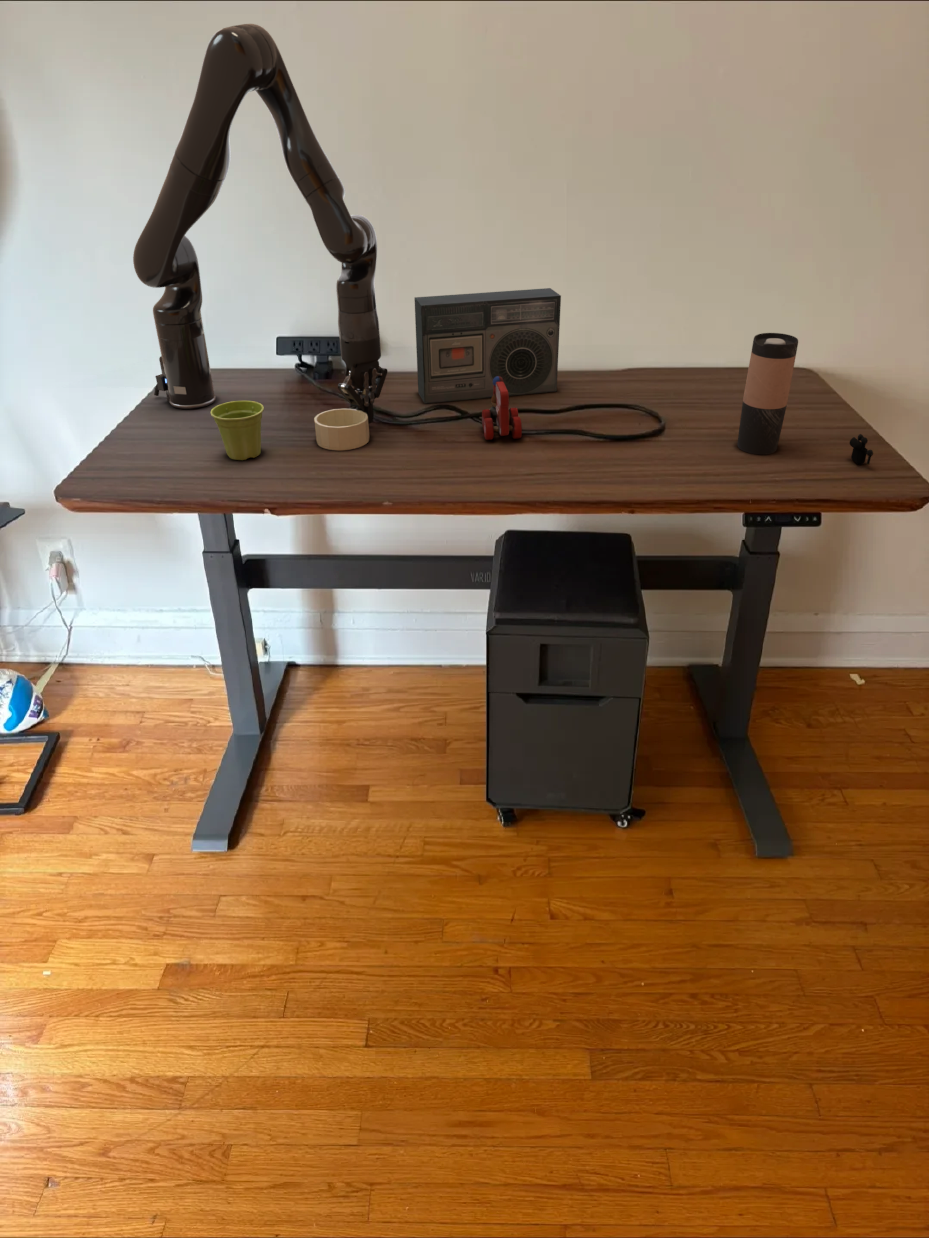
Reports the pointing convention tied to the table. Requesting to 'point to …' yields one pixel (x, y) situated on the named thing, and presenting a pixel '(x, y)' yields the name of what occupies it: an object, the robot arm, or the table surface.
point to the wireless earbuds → (860, 450)
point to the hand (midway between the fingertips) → (366, 422)
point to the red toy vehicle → (501, 414)
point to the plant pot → (240, 428)
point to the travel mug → (766, 392)
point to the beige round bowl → (341, 429)
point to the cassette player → (487, 343)
